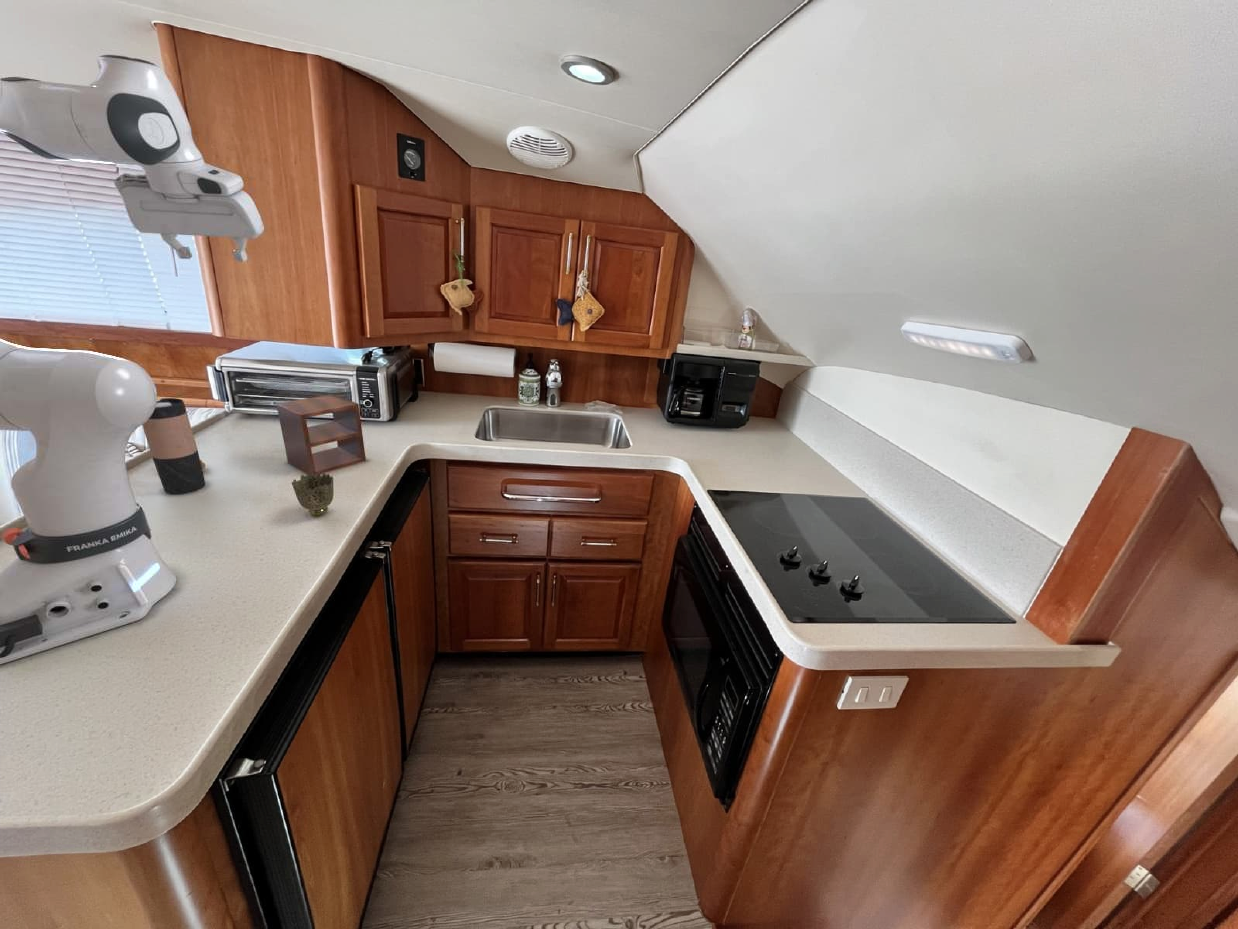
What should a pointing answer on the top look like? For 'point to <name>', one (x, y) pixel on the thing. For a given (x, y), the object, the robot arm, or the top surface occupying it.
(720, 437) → the top surface
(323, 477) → the cup
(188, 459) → the travel mug
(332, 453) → the shelf
